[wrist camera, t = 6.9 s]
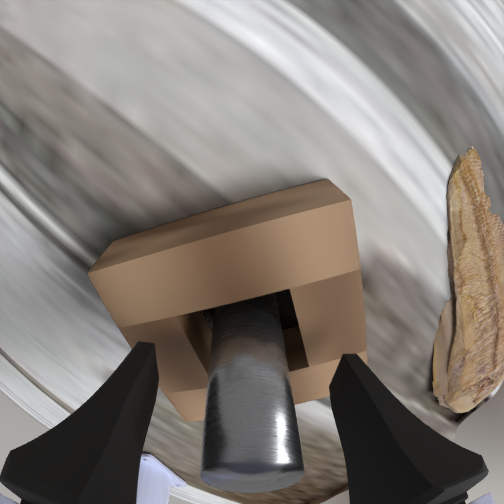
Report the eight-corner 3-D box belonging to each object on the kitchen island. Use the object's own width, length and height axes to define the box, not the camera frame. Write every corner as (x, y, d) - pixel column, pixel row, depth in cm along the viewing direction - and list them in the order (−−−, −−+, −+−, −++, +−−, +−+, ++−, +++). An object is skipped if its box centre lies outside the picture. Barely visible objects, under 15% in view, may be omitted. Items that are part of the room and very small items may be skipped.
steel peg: (227, 331, 16) (221, 495, 8) (207, 285, 15) (182, 463, 7) (282, 318, 16) (310, 484, 8) (268, 270, 14) (295, 450, 6)
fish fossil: (380, 188, 13) (392, 193, 12) (503, 111, 12) (516, 112, 11) (444, 420, 23) (449, 428, 22) (517, 362, 22) (523, 368, 20)
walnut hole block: (191, 383, 18) (186, 421, 15) (113, 241, 13) (87, 273, 11) (352, 346, 17) (367, 384, 14) (327, 178, 13) (351, 199, 10)
